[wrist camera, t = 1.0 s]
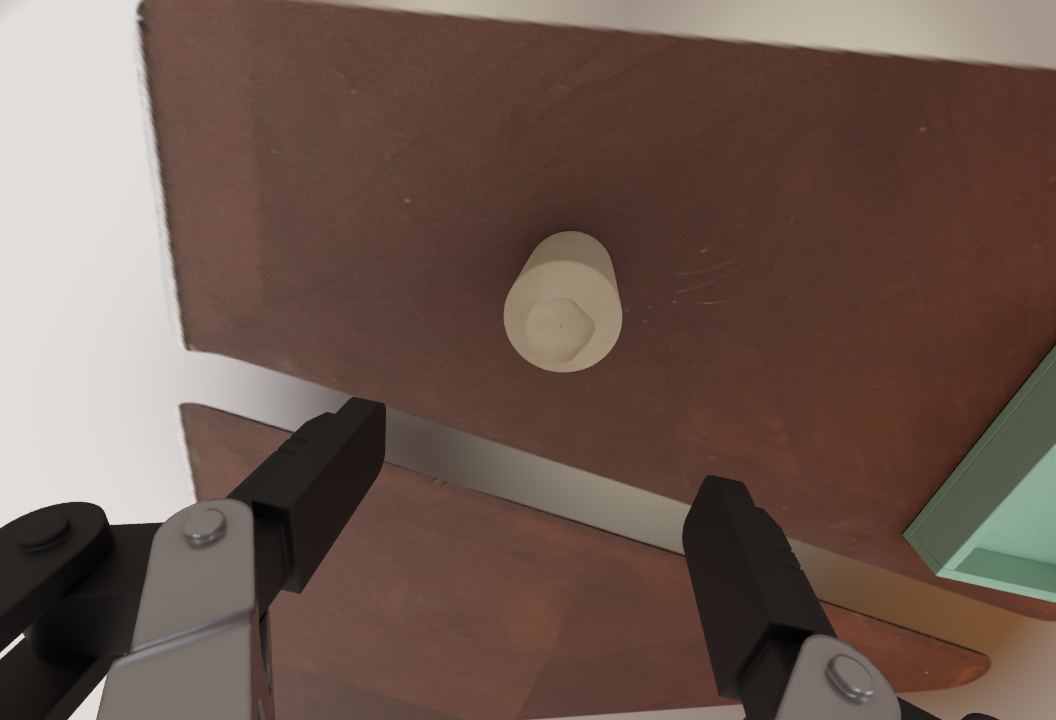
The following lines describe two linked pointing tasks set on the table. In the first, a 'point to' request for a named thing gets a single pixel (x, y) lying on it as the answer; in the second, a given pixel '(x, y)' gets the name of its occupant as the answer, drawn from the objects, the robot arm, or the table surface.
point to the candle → (564, 304)
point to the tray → (1001, 500)
